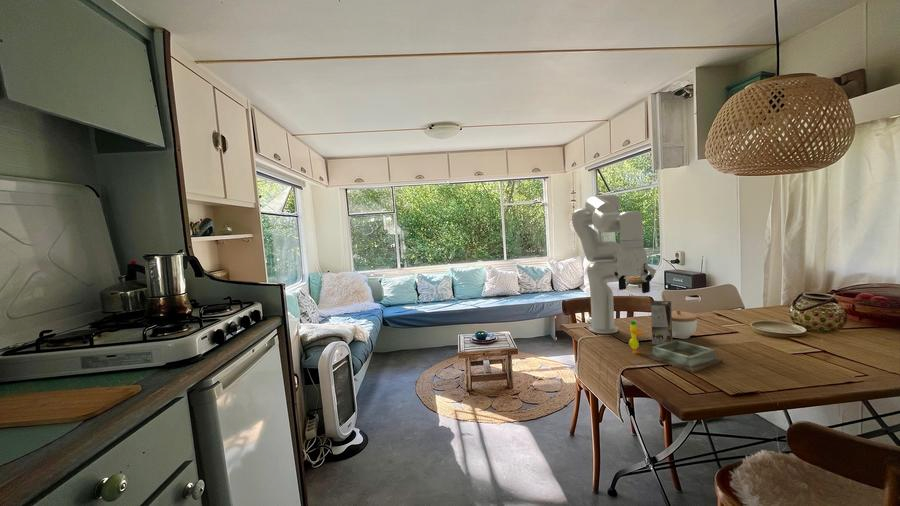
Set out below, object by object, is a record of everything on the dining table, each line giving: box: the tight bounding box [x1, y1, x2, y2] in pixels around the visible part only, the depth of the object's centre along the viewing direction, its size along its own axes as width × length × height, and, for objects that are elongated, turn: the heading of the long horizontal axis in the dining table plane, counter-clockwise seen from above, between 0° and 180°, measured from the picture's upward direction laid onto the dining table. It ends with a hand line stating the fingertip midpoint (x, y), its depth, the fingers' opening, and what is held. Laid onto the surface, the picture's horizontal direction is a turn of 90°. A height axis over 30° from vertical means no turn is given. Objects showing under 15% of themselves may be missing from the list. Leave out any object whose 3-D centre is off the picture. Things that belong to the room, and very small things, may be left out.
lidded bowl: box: [671, 309, 698, 340], centre depth 145 cm, size 13×13×11 cm
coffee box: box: [650, 300, 673, 346], centre depth 139 cm, size 9×6×16 cm
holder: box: [645, 339, 723, 374], centre depth 121 cm, size 16×16×4 cm
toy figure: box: [628, 320, 644, 355], centre depth 130 cm, size 7×4×12 cm, turn 12°
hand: (633, 290), depth 129 cm, fingers open, 9 cm apart
